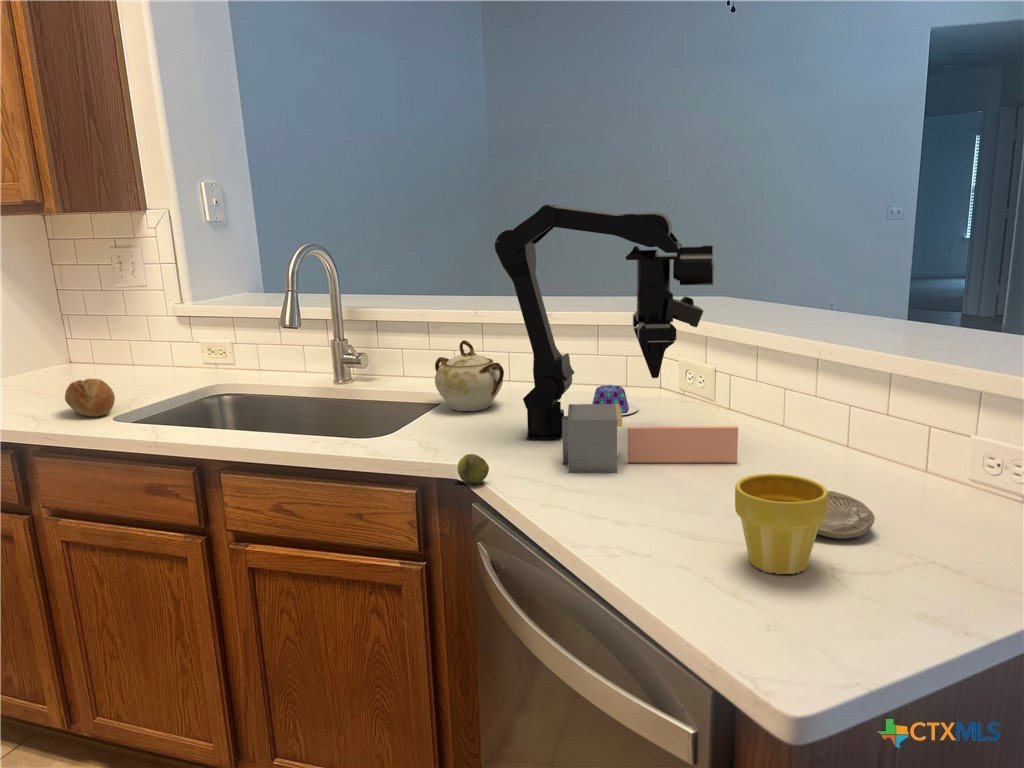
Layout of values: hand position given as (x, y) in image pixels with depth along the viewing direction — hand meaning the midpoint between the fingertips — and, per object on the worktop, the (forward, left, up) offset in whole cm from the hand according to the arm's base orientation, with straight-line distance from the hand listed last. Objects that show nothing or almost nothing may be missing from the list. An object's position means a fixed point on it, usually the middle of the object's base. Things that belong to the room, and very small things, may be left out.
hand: (652, 372), depth 139 cm
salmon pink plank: (+4, -12, -13) cm, 18 cm away
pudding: (-7, +22, -14) cm, 27 cm away
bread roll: (-125, +23, -13) cm, 128 cm away
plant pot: (+11, -49, -13) cm, 52 cm away
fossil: (+20, -38, -13) cm, 45 cm away
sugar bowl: (-38, +26, -13) cm, 47 cm away
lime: (-30, -22, -13) cm, 40 cm away
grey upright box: (-11, -12, -13) cm, 21 cm away
